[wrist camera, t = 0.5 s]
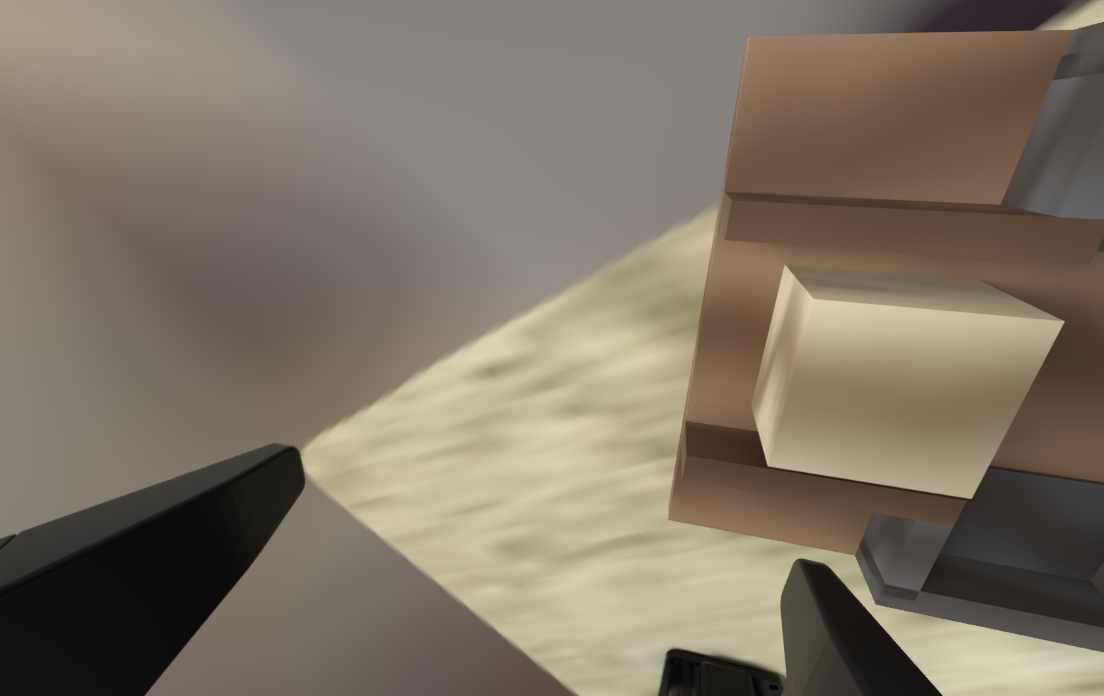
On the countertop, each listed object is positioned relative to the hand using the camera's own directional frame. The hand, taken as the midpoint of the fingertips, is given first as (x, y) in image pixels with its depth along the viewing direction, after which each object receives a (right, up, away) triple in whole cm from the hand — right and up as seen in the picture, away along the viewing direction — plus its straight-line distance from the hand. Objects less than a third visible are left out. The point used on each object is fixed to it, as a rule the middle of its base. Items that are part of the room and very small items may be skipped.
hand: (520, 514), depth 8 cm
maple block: (+12, +3, +9) cm, 15 cm away
